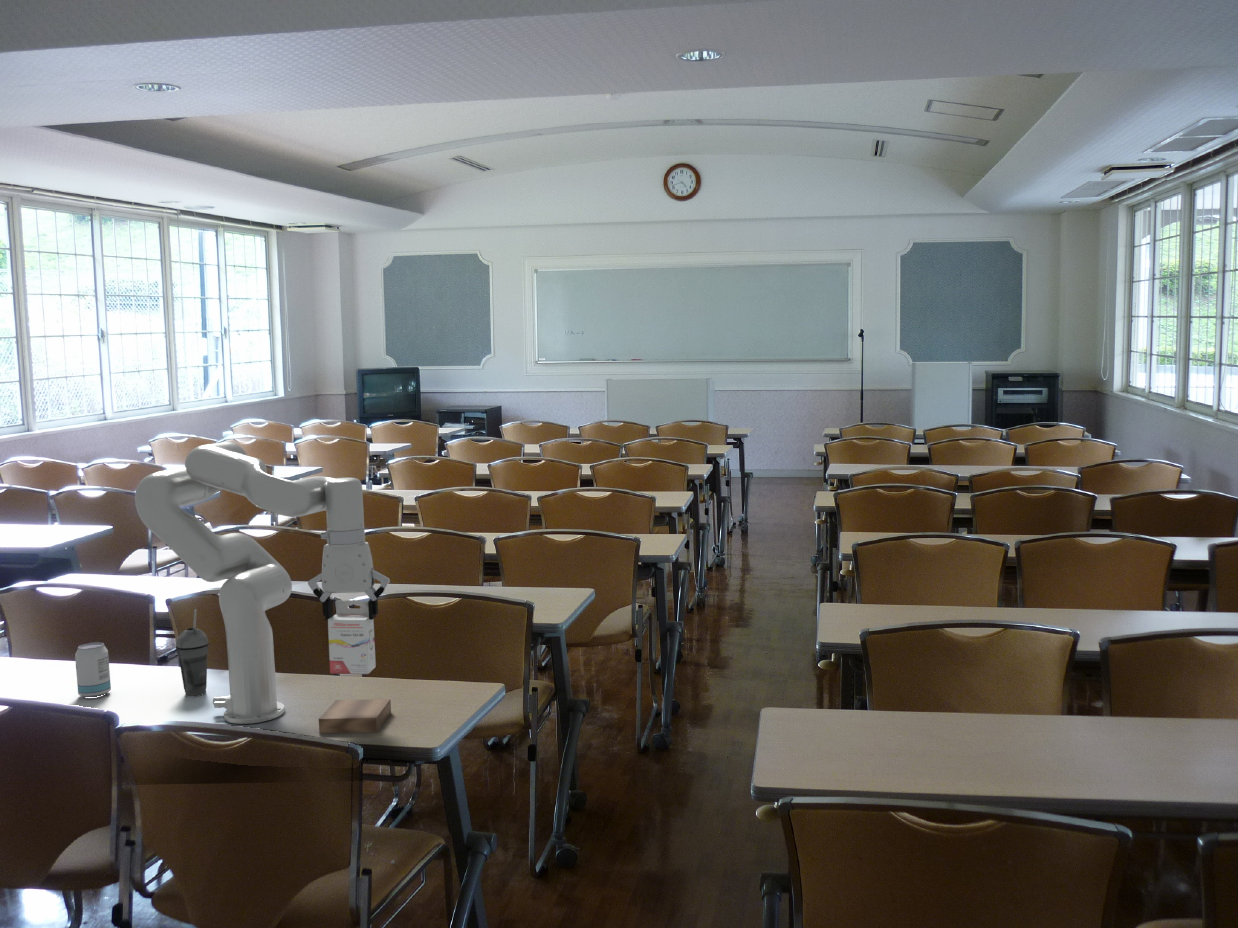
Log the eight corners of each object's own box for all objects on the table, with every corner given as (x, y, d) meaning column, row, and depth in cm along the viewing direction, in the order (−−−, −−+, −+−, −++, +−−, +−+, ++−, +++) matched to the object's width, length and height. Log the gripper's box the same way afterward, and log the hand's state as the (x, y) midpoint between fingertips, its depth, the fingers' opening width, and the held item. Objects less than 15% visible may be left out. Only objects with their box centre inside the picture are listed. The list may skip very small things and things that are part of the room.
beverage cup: (178, 691, 249) (172, 608, 247) (211, 686, 252) (205, 604, 250) (179, 700, 242) (173, 614, 240) (213, 695, 245) (207, 610, 243)
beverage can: (85, 691, 251) (81, 642, 250) (115, 690, 251) (111, 640, 250) (73, 700, 244) (69, 650, 243) (104, 699, 245) (100, 648, 243)
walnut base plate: (319, 732, 218) (318, 718, 218) (336, 713, 230) (335, 699, 230) (377, 731, 218) (376, 717, 217) (391, 712, 229) (390, 698, 229)
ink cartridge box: (329, 674, 221) (325, 605, 219) (337, 667, 225) (334, 599, 224) (369, 674, 220) (365, 605, 218) (376, 667, 225) (373, 599, 223)
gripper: (299, 541, 216) (304, 624, 218) (383, 539, 216) (387, 622, 217) (310, 535, 224) (315, 615, 225) (392, 533, 223) (396, 613, 225)
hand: (350, 618), depth 221 cm, fingers closed on ink cartridge box, 8 cm apart
